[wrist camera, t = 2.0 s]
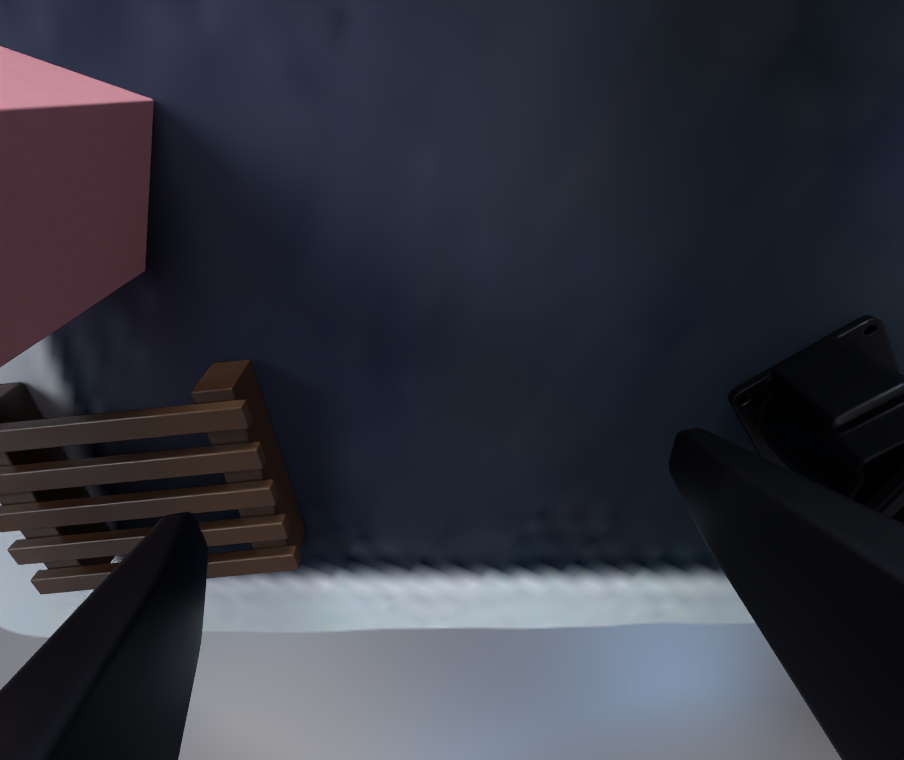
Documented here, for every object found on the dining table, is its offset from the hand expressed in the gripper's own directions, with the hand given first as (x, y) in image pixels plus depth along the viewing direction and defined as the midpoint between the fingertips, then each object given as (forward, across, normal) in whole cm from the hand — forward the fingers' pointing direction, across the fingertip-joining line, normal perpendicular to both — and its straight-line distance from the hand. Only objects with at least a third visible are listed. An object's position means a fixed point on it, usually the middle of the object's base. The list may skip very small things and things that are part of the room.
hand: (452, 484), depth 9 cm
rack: (+13, +11, +9) cm, 20 cm away
